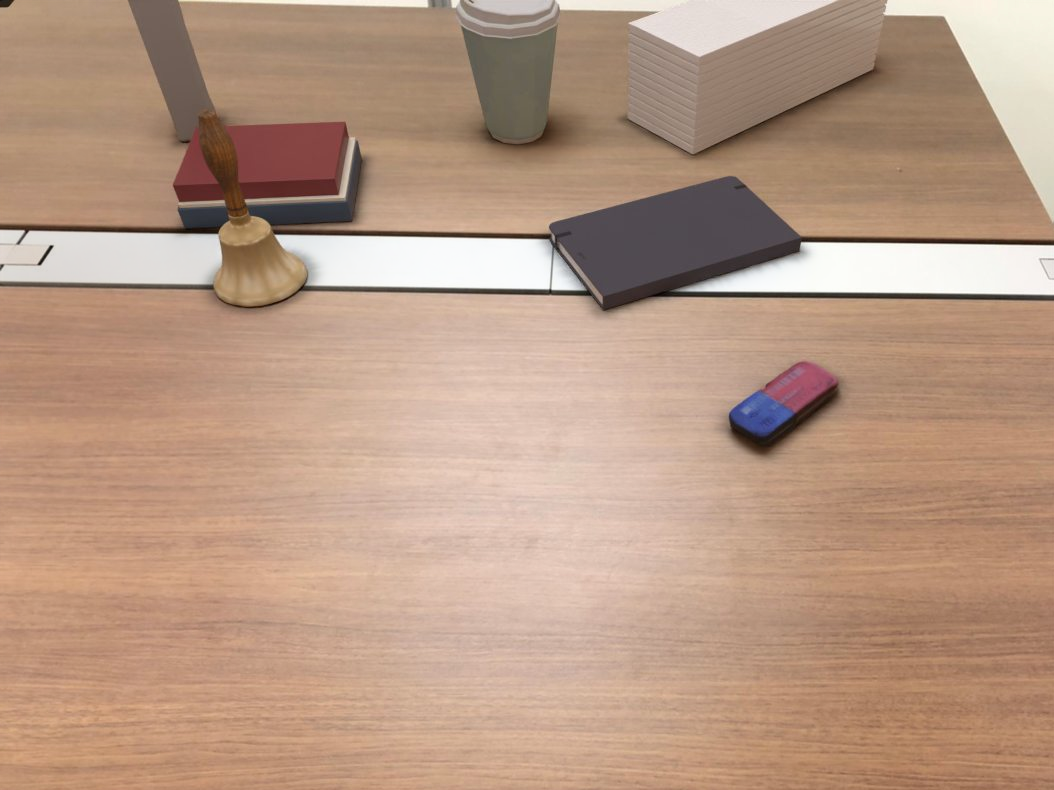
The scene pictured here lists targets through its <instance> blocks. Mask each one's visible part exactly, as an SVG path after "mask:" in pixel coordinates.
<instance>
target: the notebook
mask: <svg viewBox="0 0 1054 790" xmlns="http://www.w3.org/2000/svg"><path fill="white" fill-rule="evenodd" d="M548 229H549V231H550V232H551V235H550V236H549V241H550V243H551V245H552V246H553V247H554V248H555V250H556V251H557V253H558V254H559V255H560V256H561V258H562V259H563V260H564V261H565V262H566V264H567V265H568V267H569V268H570V269H571V270H572V271H573V273H574V274H575V276H576V277H577V278H578V280H579V281H580V282H581V284H582V285H583V286H584V287H585V288H586V290H587V291H588V292H589V294H590V295H591V296H592V297H593V299H594V300H595V301H596V303H597V304H598V305H599V306H600V308H601V309H602V310H603V311H604V310H607V309H611V308H614V307H618V306H622V305H624V304H628V303H631V302H634V301H638V300H641V299H644V298H648V297H651V296H654V295H657V294H661V293H664V292H667V291H671V290H674V289H677V288H682V287H684V286H688V285H690V284H694V283H697V282H700V281H704V280H707V279H710V278H714V277H717V276H721V275H725V274H727V273H730V272H733V271H737V270H740V269H745V268H747V267H750V266H753V265H757V264H759V263H763V262H767V261H770V260H774V259H777V258H780V257H783V256H786V255H790V254H793V253H797V252H799V251H801V245H802V240H803V237H802V236H801V235H800V234H799V233H798V232H797V231H796V230H795V229H793V228H792V226H790V225H789V224H788V223H787V222H786V221H785V220H784V219H783V218H782V217H780V216H779V215H778V214H777V213H776V212H775V211H774V210H773V209H772V208H771V207H770V206H769V205H767V204H766V203H765V202H764V201H763V200H762V199H761V198H760V197H759V196H758V195H757V194H755V193H754V191H752V190H751V189H750V188H749V187H748V186H747V185H746V183H744V182H743V181H742V180H740V179H739V178H738V177H736V176H734V175H727V176H723V177H718V178H715V179H712V180H711V179H710V180H708V181H704V182H700V183H696V184H693V185H688V186H684V187H681V188H677V189H674V190H669V191H666V192H662V193H659V194H658V193H657V194H655V195H651V196H647V197H643V198H640V199H635V200H632V201H628V202H624V203H620V204H617V205H613V206H609V207H606V208H602V209H598V210H594V211H590V212H586V213H582V214H579V215H578V214H577V215H574V216H571V217H567V218H564V219H559V220H555V221H554V222H551V223H549V225H548Z"/></svg>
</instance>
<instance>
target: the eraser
mask: <svg viewBox="0 0 1054 790" xmlns="http://www.w3.org/2000/svg"><path fill="white" fill-rule="evenodd" d="M839 385H840V384H839V379H838V378H837V377H836V376H835V375H834V374H832V373H831V372H830V371H828V370H826V369H825V368H823V367H821V366H819V365H817V364H816V363H813V362H811V361H807V360H806V361H805V360H801V361H799V362H797V363H795V364H793V365H792V366H791V367H789V368H788V369H786V370H784V371H783V372H782V373H779V374H778V375H777V376H776V377H775V378H773V379H772V380H770V381H769V382H768V383H766V384H765V386H764V388H763V389H758V390H757V391H755V392H754V393H752V394H751V395H749V396H748V397H746V398H745V399H743V400H742V401H741V402H740V403H738V404H736V406H734V407H733V408H732V409H731V410H730V411H729V413H728V421H729V426H730V427H731V428H733V429H734V430H735V431H737V432H739V433H740V434H742V435H743V436H745V437H746V438H748V439H750V440H752V441H753V442H755V443H757V444H758V445H759V444H760V445H762V446H766V447H769V446H771V445H773V444H775V443H776V442H778V441H779V440H780V439H782V438H783V437H784V436H786V435H787V434H788V433H790V432H791V431H792V430H793V429H794V428H795V427H797V426H798V425H799V424H801V423H802V421H804V420H805V419H807V418H808V417H809V416H811V415H812V414H813V413H814V412H816V411H817V410H818V409H820V408H821V407H822V406H823V405H825V404H826V403H827V402H828V401H830V400H832V398H833V396H834V395H835V393H836V391H837V389H838V387H839Z"/></svg>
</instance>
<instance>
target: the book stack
mask: <svg viewBox="0 0 1054 790" xmlns="http://www.w3.org/2000/svg"><path fill="white" fill-rule="evenodd" d="M223 126H224V127H225V129H226V130H227V132H228V133H229V135H230V137H231V139H232V141H233V144H234V147H235V150H236V155H237V159H238V180H239V185H240V188H241V191H242V194H243V197H244V199H245V203H246V204H247V207H248V212H249V215H250V216H255V217H259V218H262V219H264V220H266V221H267V222H268V223H269V224H270V226H272V225H273V226H276V225H295V224H296V225H297V224H319V223H320V224H321V223H339V222H353V217H354V211H355V204H356V199H357V191H358V185H359V179H360V173H361V166H362V160H363V159H362V158H363V157H362V154H361V150H360V149H361V148H360V143H359V140H358V139H357V137H355V136H353V137H350V136H349V131H348V127H347V123H346V121H324V122H322V121H321V122H298V123H297V122H296V123H295V122H294V123H271V124H270V123H269V124H268V123H267V124H243V125H241V124H239V125H223ZM172 187H173V191H174V192H175V195H176V198H177V200H178V203H177V212H178V215H179V217H180V219H181V222H182V225H183V227H184V229H185V230H189V229H209V228H210V229H211V228H221V227H222V226H223V225H224V224H225V223H227V222H228V221H230V219H229V216H228V212H227V207H226V204H225V201H224V197H223V194H222V190H221V188H220V185H219V183H218V182H217V180H216V179H215V177H214V176H213V174H212V173H211V171H210V170H209V168H208V166H207V164H206V162H205V160H204V157H203V155H202V152H201V148H200V144H199V127H196V129H195V131H194V134H193V136H192V138H191V141H189V144H188V146H187V149H186V151H185V154H184V156H183V159H182V161H181V163H180V166H179V169H178V170H177V173H176V175H175V178H174V181H173V183H172Z"/></svg>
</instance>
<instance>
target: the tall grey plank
mask: <svg viewBox="0 0 1054 790" xmlns="http://www.w3.org/2000/svg"><path fill="white" fill-rule="evenodd" d="M127 2H128V5H129V8H130V10H131V13H132V15H133V19H134V21H135V23H136V27H137V29H138V32H139V34H140V37H141V40H142V42H143V45H144V48H145V51H146V53H147V56H148V59H149V61H150V63H151V67H152V69H153V72H154V74H155V75H154V76H155V77H156V81H157V84H158V86H159V88H160V91H161V93H162V96H163V99H164V101H165V102H164V103H165V104H166V106H167V110H168V112H169V115H170V117H171V120H172V123H173V126H174V129H175V131H176V134H177V137H178V139H179V140H180V141H181V142H183V143H184V142H190V141H191V138H192V136H193V134H194V131H195V129H196V127H199V118H198V113H199V111H201V110H203V109H212V110H214V111H215V113H216V115H217V116H218V113H217V110H216V107H215V105H214V103H213V100H212V99H211V97H210V95H209V91H208V89H207V85H206V83H205V79H204V77H203V74H202V71H201V67H200V65H199V61H198V59H197V55H196V52H195V50H194V47H193V43H192V40H191V38H190V34H189V31H188V29H187V26H186V23H185V19H184V14H183V11H182V7H181V5H180V1H179V0H127Z"/></svg>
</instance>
